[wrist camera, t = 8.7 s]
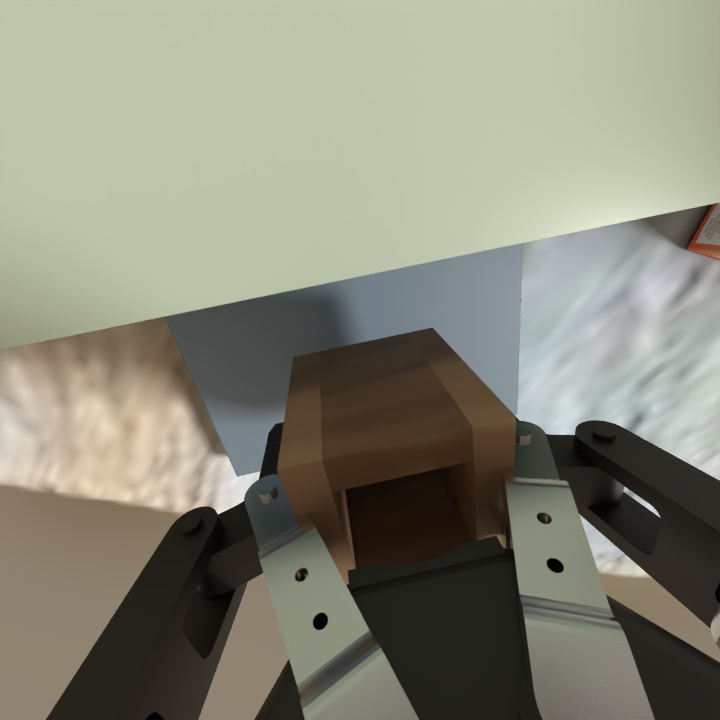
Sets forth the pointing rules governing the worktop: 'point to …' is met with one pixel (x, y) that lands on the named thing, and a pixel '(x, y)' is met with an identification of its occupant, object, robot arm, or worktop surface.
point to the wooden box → (394, 450)
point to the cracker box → (708, 234)
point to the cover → (327, 141)
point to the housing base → (348, 336)
